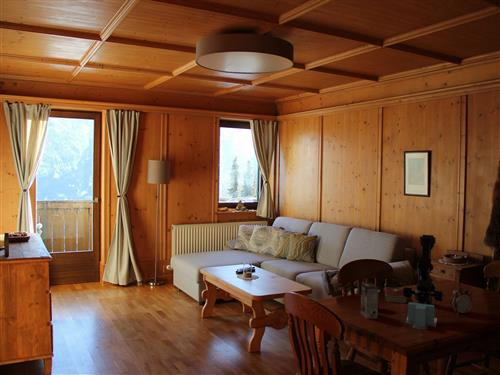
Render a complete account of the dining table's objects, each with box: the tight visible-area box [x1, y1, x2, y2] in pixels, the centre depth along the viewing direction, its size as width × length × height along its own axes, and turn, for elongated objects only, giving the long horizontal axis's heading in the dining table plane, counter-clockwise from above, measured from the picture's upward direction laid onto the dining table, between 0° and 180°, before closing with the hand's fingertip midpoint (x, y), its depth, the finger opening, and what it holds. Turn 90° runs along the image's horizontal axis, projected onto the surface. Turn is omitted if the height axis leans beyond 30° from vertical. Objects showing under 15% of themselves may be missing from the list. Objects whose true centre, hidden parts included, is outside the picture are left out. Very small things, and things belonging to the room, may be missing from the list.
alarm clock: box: [450, 284, 473, 315], centre depth 249 cm, size 11×5×15 cm, turn 105°
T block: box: [407, 302, 435, 328], centre depth 228 cm, size 9×12×9 cm
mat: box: [405, 316, 438, 330], centre depth 232 cm, size 21×14×1 cm, turn 156°
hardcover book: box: [384, 286, 408, 304], centre depth 278 cm, size 12×21×4 cm, turn 165°
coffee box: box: [360, 282, 379, 319], centre depth 242 cm, size 9×6×16 cm
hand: (421, 308), depth 233 cm, fingers closed, pressing on T block
